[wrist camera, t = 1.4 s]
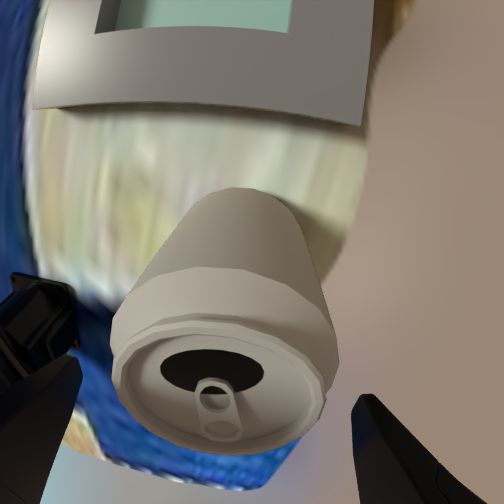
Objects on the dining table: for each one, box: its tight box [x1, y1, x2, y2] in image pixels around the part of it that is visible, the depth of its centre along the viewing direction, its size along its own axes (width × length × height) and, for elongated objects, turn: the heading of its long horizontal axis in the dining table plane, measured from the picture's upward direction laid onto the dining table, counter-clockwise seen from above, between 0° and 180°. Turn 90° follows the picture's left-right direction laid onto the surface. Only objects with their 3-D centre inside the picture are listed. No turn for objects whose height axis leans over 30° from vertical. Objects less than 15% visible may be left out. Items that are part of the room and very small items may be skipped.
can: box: [110, 188, 339, 456], centre depth 13 cm, size 8×8×12 cm
